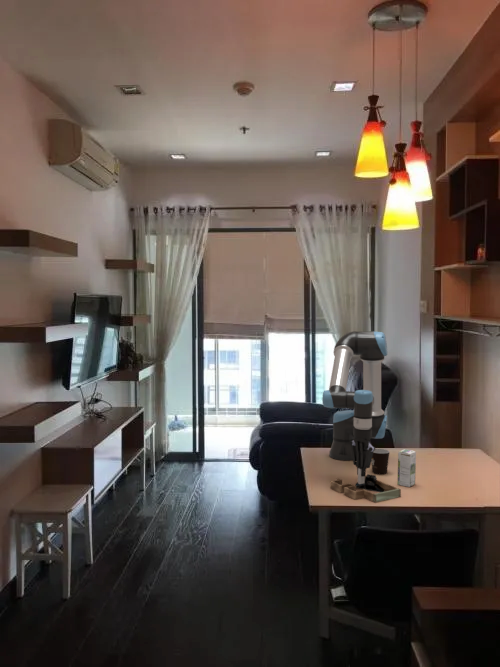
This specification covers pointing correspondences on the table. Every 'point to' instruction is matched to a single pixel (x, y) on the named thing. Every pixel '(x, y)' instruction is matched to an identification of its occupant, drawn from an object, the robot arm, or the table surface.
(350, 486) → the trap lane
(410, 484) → the syrup box
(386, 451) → the coffee mug
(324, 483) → the table surface
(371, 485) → the black notched block
